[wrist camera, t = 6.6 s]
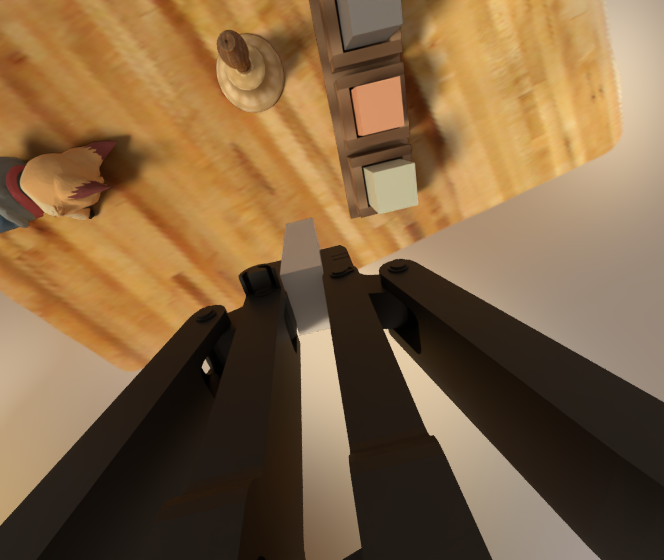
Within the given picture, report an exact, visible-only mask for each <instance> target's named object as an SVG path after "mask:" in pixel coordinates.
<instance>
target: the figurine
mask: <svg viewBox="0 0 664 560" xmlns="http://www.w3.org/2000/svg"><path fill="white" fill-rule="evenodd" d="M115 145H116V142H115V141H112V140H107V141H98V142H92V143H90V144H88V145H87V146H83V147H77V148H71V149H69V150H67V151H65V152H63V153H61V154H56V153H49V154H43V155H40V156H37V157H35V158H33V159H31V160H30V161H29V162H28V163H27V164H26V163H25V162H24V161H23V160H21V159H18V158H12V157H0V233H2V232H5V231H9V230H12V229H15V228H18V227H23V228H27V227H28V226H29V225H30V224H29V221H34V220H35V219H36V218H38V217H42V216H43V213H44V212H45V213H47V214H49V215H52V216H54V217H62V216H67V217H71V218H75V219H80V220H86V219H92V218H93V217H94V215H95V213H94V211H93V210H90V208H89V207H91V206H93V205H94V204H96V203H97V202H98V200H99V199H100V193H101V192H102V191H105V190H107V189H109V188H110V187H111V186H110V185H107V184H103V183H104V180H103V178H102V176H101V177H100V172H99V167H100V166H101V164H102V162H103V160H104V159H105V158H106V156H107V155H108V154H109V153H110V152H111V150H112V149H113V148H114V147H115Z"/></svg>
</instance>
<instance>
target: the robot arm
mask: <svg viewBox="0 0 664 560" xmlns="http://www.w3.org/2000/svg"><path fill="white" fill-rule="evenodd" d="M238 277H239V280H240V282H241V284H242V287H243V289H244V292H245V294H246V299H245V302H244V305H243V307H241V308H239V309H236V310H234V311H232V312H229V313H227V311H226V309H225V307H224V306H222V305H213V306H207V307H205V308H202V309H200V310H199V311H198V312H196V313H194V314H193V315H192V316H191V317H190V318H189V319H188V320H187V321H186V322H185V323H184V324H183V326H182V327H181V328H180V329H179V330H178V331H177V332H176V333H175V334H174V335H173V337H172V338H171V339H170V340H169V341H168V342H167V343H166V344H165V345H164V346H163V348H162V349H161V350H160V351H159V352H158V353H157V354H156V355H155V356H154V357H153V358H152V360H151V361H150V362H149V363H148V364H147V365H146V366H145V367H144V368H143V369H142V371H141V372H140V373H139V374H138V375H137V376H136V377H135V378H134V379H133V381H132V382H131V383H130V384H129V385H128V386H127V387H126V388H125V389H124V390H123V391H122V393H121V394H120V395H119V396H118V397H117V398H116V399H115V400H114V401H113V402H112V404H111V405H110V406H109V407H108V408H107V409H106V410H105V411H104V412H103V413H102V415H101V416H100V417H99V418H98V419H97V420H96V421H95V422H94V423H93V424H92V426H91V427H90V428H89V429H88V430H87V431H86V432H85V433H84V435H83V436H82V437H81V438H80V439H79V440H78V441H77V442H76V443H75V444H74V445H73V446H72V448H71V449H70V450H69V451H68V452H67V453H66V454H65V455H64V456H63V457H62V459H61V460H60V461H59V462H58V463H57V464H56V465H55V466H54V467H53V468H52V470H51V471H50V472H49V473H48V474H47V475H46V476H45V477H44V478H43V479H42V481H41V482H40V483H39V484H38V485H37V486H36V487H35V488H34V489H33V490H32V492H31V493H30V494H29V495H28V496H27V497H26V498H25V499H24V500H23V501H22V503H21V504H20V505H19V506H18V507H17V508H16V509H15V510H14V511H13V512H12V514H11V515H10V516H9V517H8V518H7V519H6V520H5V521H4V522H3V524H2V525H1V526H0V560H306V559H305V552H304V541H303V540H304V539H303V479H302V422H301V363H300V341H299V338H298V335H297V328H298V331H299V334H300V335H305V334H309V333H313V332H318V331H321V330H326V329H331V335H332V341H333V347H334V354H335V360H336V366H337V372H338V378H339V384H340V391H341V397H342V403H343V409H344V415H345V421H346V428H347V433H348V440H349V447H350V455H349V466H350V473H351V480H352V487H353V494H354V500H355V507H356V512H357V520H358V526H359V533H360V540H361V546H362V548H361V549H359V550H358V551H356V552H354V553H353V554H351V555H349V556H348V557H346V558H344V559H343V560H492V558H491V556H490V554H489V551H488V549H487V547H486V545H485V543H484V540H483V538H482V536H481V534H480V531H479V529H478V527H477V525H476V523H475V520H474V518H473V516H472V514H471V511H470V509H469V507H468V505H467V503H466V500H465V498H464V496H463V494H462V491H461V490H460V487H459V485H458V483H457V480H456V478H455V476H454V474H453V472H452V469H451V467H450V465H449V463H448V460H447V458H446V456H445V454H444V452H443V450H442V448H441V446H440V444H439V442H438V441H437V439H436V438H435V436H434V435H433V436H430V435H429V434H428V432H427V430H426V428H425V426H424V424H423V421H422V419H421V417H420V414H419V412H418V410H417V407H416V405H415V403H414V401H413V398H412V396H411V393H410V391H409V388H408V386H407V384H406V381H405V379H404V377H403V374H402V372H401V370H400V367H399V365H398V363H397V360H396V358H395V356H394V353H393V351H392V349H391V346H390V344H389V342H388V339H387V337H386V335H385V333H384V330H383V329H388V330H389V333H390V335H391V336H392V337H393V338H394V339H395V340H396V341H397V343H398V344H400V346H401V347H402V348H403V349H404V350H405V351H406V352H407V353H408V354H409V355H410V356H411V357H412V358H413V360H414V361H415V362H416V363H417V364H418V365H419V366H420V367H421V368H422V369H423V370H424V371H425V372H426V374H427V375H428V376H429V377H430V378H431V379H432V380H433V381H434V382H435V383H436V384H437V385H438V386H439V387H440V389H441V390H442V391H443V392H444V393H445V394H446V395H447V396H448V397H449V398H450V399H451V400H452V401H453V402H454V403H455V405H456V406H457V407H458V408H459V409H460V410H461V411H462V412H463V413H464V414H465V415H466V416H467V417H468V419H469V420H470V421H471V422H472V423H473V424H474V425H475V426H476V427H477V428H478V429H479V430H480V431H481V432H482V434H484V436H485V437H486V438H487V439H488V440H489V441H490V442H491V443H492V444H493V445H494V446H495V447H496V448H497V449H498V450H499V452H500V453H501V454H502V455H503V456H504V457H505V458H506V459H507V460H508V461H509V462H510V463H511V464H512V466H513V467H514V468H515V469H516V470H517V471H518V472H519V473H520V474H521V475H522V476H523V477H524V478H525V480H526V481H527V482H528V483H529V484H530V485H531V486H532V487H533V488H534V489H535V490H536V491H537V492H538V493H539V494H540V496H541V497H542V498H543V499H544V500H545V501H546V502H547V503H548V504H549V505H550V506H551V507H552V508H553V509H554V511H555V512H556V513H557V514H558V515H559V516H560V517H561V518H562V519H563V520H564V521H565V522H566V523H567V524H568V525H569V527H570V528H571V529H572V530H573V531H574V532H575V533H576V534H577V535H578V536H579V537H580V538H581V539H582V541H583V542H584V543H585V544H586V545H587V546H588V547H589V548H590V549H591V550H592V551H593V552H594V553H595V554H596V555H597V556H598V557H599V558H600V559H601V560H664V402H662V401H660V400H658V399H657V398H655V397H653V396H652V395H650V394H648V393H646V392H645V391H643V390H641V389H639V388H638V387H636V386H634V385H632V384H630V383H629V382H627V381H625V380H623V379H622V378H620V377H618V376H616V375H614V374H613V373H611V372H609V371H607V370H606V369H604V368H602V367H600V366H598V365H597V364H595V363H593V362H591V361H590V360H588V359H586V358H584V357H583V356H581V355H579V354H577V353H576V352H574V351H572V350H570V349H568V348H567V347H565V346H563V345H561V344H560V343H558V342H556V341H554V340H553V339H551V338H549V337H547V336H545V335H544V334H542V333H540V332H538V331H536V330H535V329H533V328H531V327H530V326H528V325H526V324H524V323H522V322H521V321H518V320H517V319H515V318H514V317H512V316H510V315H508V314H507V313H504V312H503V311H501V310H499V309H498V308H496V307H494V306H492V305H491V304H489V303H487V302H485V301H484V300H482V299H480V298H478V297H476V296H475V295H473V294H471V293H469V292H468V291H466V290H464V289H462V288H461V287H459V286H457V285H455V284H453V283H452V282H450V281H448V280H446V279H444V278H443V277H441V276H439V275H437V274H436V273H434V272H432V271H430V270H429V269H427V268H425V267H423V266H421V265H420V264H418V263H416V262H414V261H411V260H405V259H399V260H398V259H395V260H393V261H390V262H387V263H385V264H383V265H382V266H381V267H380V269H379V275H363V274H360V273H359V271H358V269H357V268H356V267H355V266H353V264H352V261H351V259H350V257H349V254H348V251H347V249H346V248H345V247H343V246H341V245H338V246H334V247H330V248H326V249H322V250H321V248H320V244H319V241H318V237H317V233H316V229H315V225H314V221H313V218H309V219H305V220H301V221H297V222H293V223H288V224H286V229H285V237H284V245H283V253H282V260H280V261H276V262H272V263H268V264H259V265H256V266H253V267H250V268H248V269H246V270H244V271H243V272H242V273H241V274H240V275H239V276H238ZM205 359H206V361H207V363H208V365H209V366H210V370H209V371H208V373H207V374H205V372H204V371H203V369H202V365H203V362H204V360H205Z"/></svg>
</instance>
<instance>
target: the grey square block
mask: <svg viewBox="0 0 664 560" xmlns="http://www.w3.org/2000/svg"><path fill="white" fill-rule="evenodd" d="M336 1H337V7H338V14H339V20H340V26H341V32H342V39H343V45H344V51H345V50H349V49H353V48H357V47H361V46H366V45H370V44H374V43H378V42H382V41H386V40H387V39H388V38H389V37H390V36H391V35H392V34H393V33H394V32H395V31H396V30H397V29H398V28H399V27H400V26H401V25H402V24H403V20H402V8H401V0H336Z"/></svg>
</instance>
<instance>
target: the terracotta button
mask: <svg viewBox="0 0 664 560" xmlns="http://www.w3.org/2000/svg"><path fill="white" fill-rule="evenodd" d="M349 93H350V99H351V105H352V111H353V117H354V123H355V130H356V135H361V136H364V135H368V134H372V133H376V132H380V131H385V130H389V129H393V128H397V127H401V126H405V125H404V115H403V104H402V93H401V83H400V76H398V77H394V78H390V79H386V80H381V81H377V82H373V83H369V84H365V85H361V86H357V87H355V88H354V89H352V90H351V91H350V92H349Z"/></svg>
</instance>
